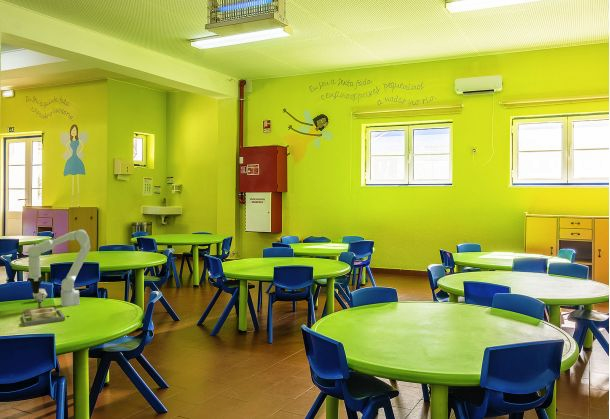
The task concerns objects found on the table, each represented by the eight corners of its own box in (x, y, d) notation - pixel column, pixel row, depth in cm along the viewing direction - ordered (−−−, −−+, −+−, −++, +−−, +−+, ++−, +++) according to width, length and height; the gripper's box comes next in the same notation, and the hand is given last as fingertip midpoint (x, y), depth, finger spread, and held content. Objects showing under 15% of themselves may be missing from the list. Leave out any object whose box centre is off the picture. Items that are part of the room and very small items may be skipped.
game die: (39, 308, 307) (32, 297, 300) (33, 301, 312) (25, 290, 305) (53, 298, 312) (46, 287, 305) (46, 292, 316) (40, 281, 310)
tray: (60, 313, 277) (60, 309, 277) (65, 320, 262) (64, 316, 262) (22, 318, 268) (21, 314, 267) (24, 326, 252) (24, 322, 252)
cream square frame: (53, 314, 273) (53, 306, 273) (56, 319, 263) (56, 311, 263) (30, 317, 268) (29, 309, 267) (32, 322, 257) (31, 314, 257)
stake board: (53, 307, 291) (52, 295, 291) (56, 313, 278) (56, 301, 277) (22, 311, 283) (22, 299, 283) (25, 317, 270) (24, 305, 269)
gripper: (25, 266, 289) (26, 290, 290) (27, 270, 277) (28, 295, 277) (39, 265, 293) (40, 289, 293) (42, 268, 281) (43, 293, 281)
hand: (35, 292), depth 286 cm, fingers open, 7 cm apart
